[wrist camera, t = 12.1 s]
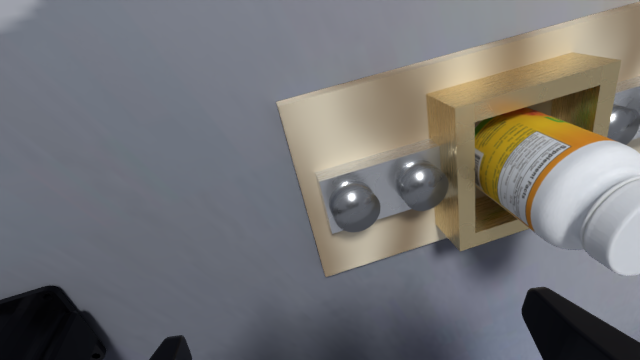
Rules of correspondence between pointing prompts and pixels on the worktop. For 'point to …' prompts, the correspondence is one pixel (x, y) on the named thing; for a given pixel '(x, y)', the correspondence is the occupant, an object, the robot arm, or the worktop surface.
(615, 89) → the bottle holder fixture
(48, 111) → the worktop surface
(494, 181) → the supplement bottle
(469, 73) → the board
